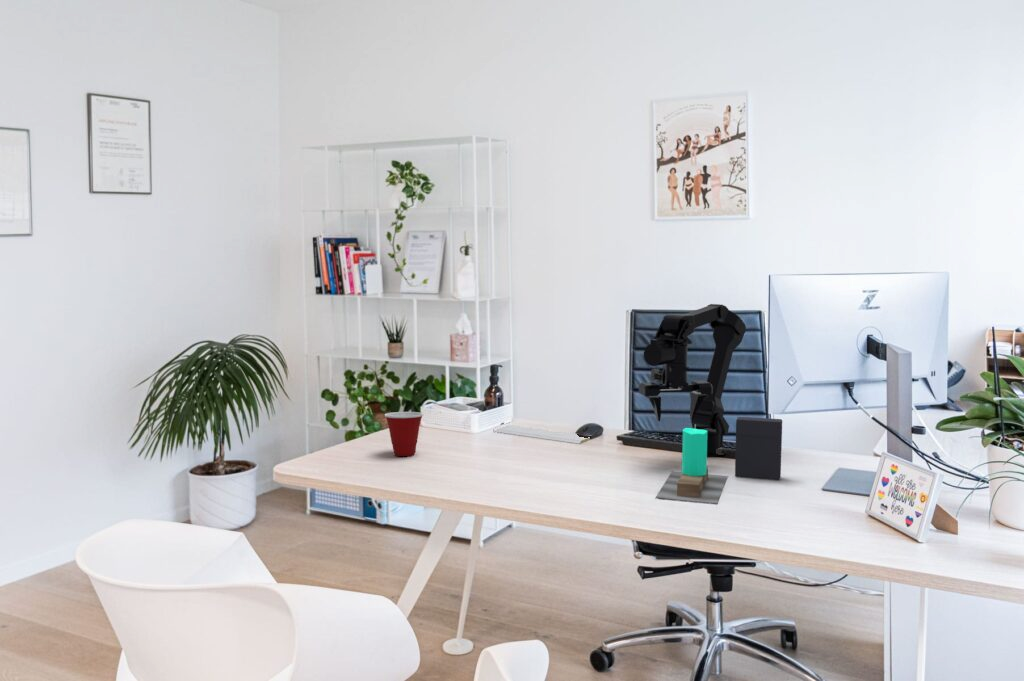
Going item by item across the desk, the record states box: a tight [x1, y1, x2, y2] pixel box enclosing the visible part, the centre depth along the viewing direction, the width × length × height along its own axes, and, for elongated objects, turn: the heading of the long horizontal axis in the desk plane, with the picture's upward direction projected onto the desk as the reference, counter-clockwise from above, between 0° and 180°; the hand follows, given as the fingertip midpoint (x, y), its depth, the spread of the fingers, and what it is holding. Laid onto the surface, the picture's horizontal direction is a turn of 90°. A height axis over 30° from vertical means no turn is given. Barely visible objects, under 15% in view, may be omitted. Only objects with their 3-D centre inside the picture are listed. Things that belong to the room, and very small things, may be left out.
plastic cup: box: [384, 411, 424, 458], centre depth 245 cm, size 11×11×12 cm
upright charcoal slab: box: [734, 416, 783, 481], centre depth 220 cm, size 11×4×15 cm, turn 71°
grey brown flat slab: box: [655, 465, 728, 505], centre depth 212 cm, size 24×14×3 cm, turn 161°
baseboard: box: [494, 422, 590, 445], centre depth 268 cm, size 30×3×10 cm
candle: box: [681, 424, 708, 476], centre depth 212 cm, size 6×6×12 cm
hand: (675, 420), depth 232 cm, fingers open, 9 cm apart
